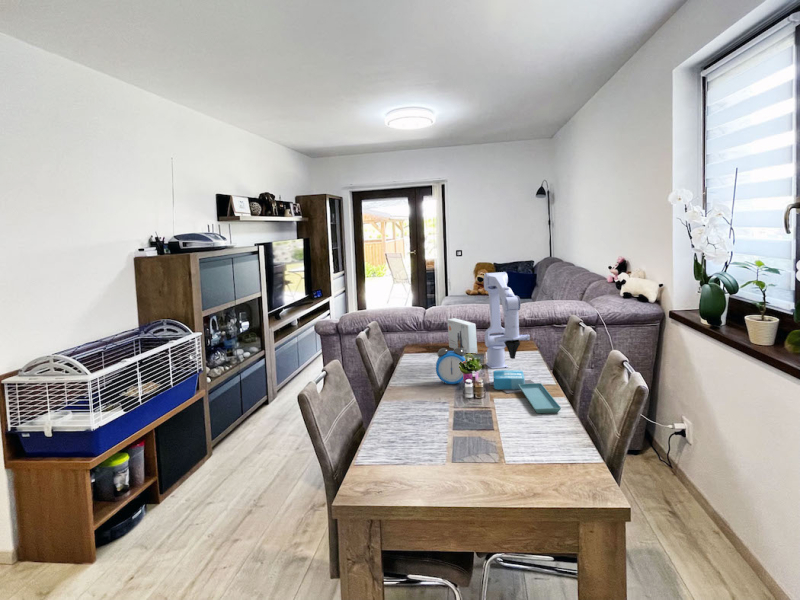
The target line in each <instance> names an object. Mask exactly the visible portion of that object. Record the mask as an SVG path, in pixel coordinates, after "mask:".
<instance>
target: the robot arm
mask: <svg viewBox="0 0 800 600" xmlns="http://www.w3.org/2000/svg"><path fill="white" fill-rule="evenodd" d="M508 282H509V277H508V273H507V271H503V272H502V271H501V272H500V271H499V272H498V271H497V272H484V275H483V288H484V291H486V292H487V293H488V303H489V304H488V305H489V320H490V326H489V327H488V328H487V329H486V330H485V332H484V345H485V346H486V348H487V350H486V362H485V365H486V366H487V367H489V368H490V369H505V367H506V368H509V366H508V365H507V364H506V357H505V348H507V351H508V355H509V358H510V359H511V360H513V359H516V355H517V351H518V349H519V346H521V345H520V344H521V341H531V340H530V339H531V336H530V334H520V326H519V325H520V320H519V319H520V317H519V311H520V310H521V298H520V296H518V295H515V293H514V292H513V290H512V288H511V287H509V286H508ZM500 301H501V302H500ZM500 303H501V304H502V305H501V304H500ZM501 306H502V313H503V316H504V327H502V323H501V321H502V319H501Z"/></svg>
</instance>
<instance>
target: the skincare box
mask: <svg viewBox="0 0 800 600" xmlns="http://www.w3.org/2000/svg"><path fill="white" fill-rule="evenodd" d="M446 323H447V333H448V334H447V335H448V346H449V348H451V349H452V350H454V349H455V348H461V349H463V351H464V353H465V354H466V353H476V354H478V344H477V343H478V341H477V327H476V326H477V325H476V323H474V322H471V321H468V320H464V319H459V318H457V317H453V318H447V321H446Z"/></svg>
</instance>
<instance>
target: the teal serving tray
mask: <svg viewBox="0 0 800 600" xmlns="http://www.w3.org/2000/svg"><path fill="white" fill-rule="evenodd" d="M518 385H519V387H520V389H521V391H522V392H521V393H522V394H523V395H524V397H525V398H526V400H527V401H528V403H529V404H530V405H531V407H532V408H533V410H534V411H535V412H536V414H555V413H559V412H560V411H561V408H562V407H561V406H560V405H559V403H558V402H557V401H556V400H555V398H554V397H553V396H552V395H551V393H550V392H549V391H548V390H547V388H546V387H545V386H544V384H542V383H541V382H537V383H536V382H534V383H532V384H518Z"/></svg>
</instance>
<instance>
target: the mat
mask: <svg viewBox="0 0 800 600" xmlns="http://www.w3.org/2000/svg"><path fill="white" fill-rule="evenodd" d="M532 383H535V382H534V381H533V380H531V379H525V384H532ZM501 391H503V392H504V393H505V394H507V395H509V394H518V393H519V394H520V393H523V392H522V391H521V389H501Z"/></svg>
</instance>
